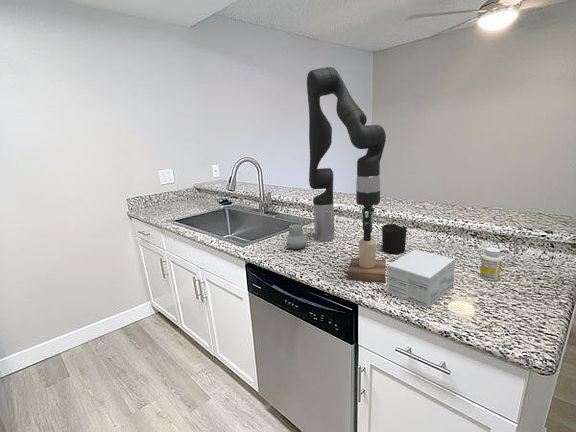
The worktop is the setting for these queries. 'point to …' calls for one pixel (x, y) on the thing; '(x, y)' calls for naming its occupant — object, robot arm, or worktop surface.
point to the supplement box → (420, 277)
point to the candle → (367, 253)
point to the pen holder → (393, 238)
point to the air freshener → (296, 237)
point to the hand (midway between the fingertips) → (367, 236)
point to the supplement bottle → (491, 264)
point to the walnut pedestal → (367, 271)
